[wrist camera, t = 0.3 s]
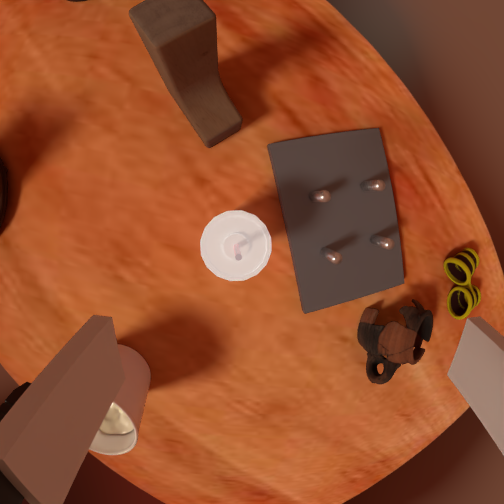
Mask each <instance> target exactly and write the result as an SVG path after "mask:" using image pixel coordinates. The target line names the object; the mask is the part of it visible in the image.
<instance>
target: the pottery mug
mask: <svg viewBox="0 0 504 504" xmlns="http://www.w3.org/2000/svg"><path fill="white" fill-rule="evenodd" d="M412 302H413V303H414V304H415V306H416V308H415V307H413V306H411V307H408V306H403V307H402V308H401V309H400V310H399V312H400V313H401V314H403V315H404V318H405V320H406V325H407V328H406V327H405V326H403V325H401V324H399V323H398V322H396V321H391V322H389V323H388V324H387V325H386V326H383V325H381V326H380V325H375V320H376V317H377V315H378V313H379V310H377V309H372V308H366V309H365V311H364V312H363V314H362V316H361V320H360V323H359V327H358V334H357V336H358V341H359V343H360V345H361V346H362V347H363V348H364V349H365V350H366V351H367V352H368V353H367V356H368V358H367V363H366V372H367V376H368V378H369V380H370V381H371V382H372V383H376V384H384V383H386V382H388V381H389V380H390V379H391V378H392V376H393V375H394V373H395V371H396V370H397V368H399V367H400V366H401V364H406V363H410V364H412V365H414V364H416V363H417V362H418V361H419V360H420V359H421V357H422V356H423V354H424V352H425V349H423V348H420V347H421V344H422V341H423V339H424V340H425V341H427V342H429V340H430V337H431V333H432V328H433V315H432V312H431V311H430V310H424V308H423V306H422V305H421V304H420V303H419V302H418V301H416V300H414V299H412ZM414 347H415V348H414ZM413 348H414V350H413ZM382 355H387V359H386V358H385V357H384V356H382ZM379 363H383V365H384V370H383V373H382V374H379V373H378V371H377V365H378V364H379Z"/></svg>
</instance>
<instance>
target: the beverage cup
mask: <svg viewBox="0 0 504 504" xmlns="http://www.w3.org/2000/svg"><path fill="white" fill-rule="evenodd" d="M200 246H201V256H202V258H203V260H204V262H205V264H206V266H207V268H208V269H210V270H211V271H212V272H213V273H214V274H215V275H216V276H218V277H220V278H223V279H226V280H229V281H242V280H246V279H248V278H251V277H253V276H255V275H257V274H258V273H259V272H260V271H261V270H262V269H263V268H264V267H265V266H266V264H267V262H268V259H269V257H270V254H271V236H270V234H269V232H268V230H267V228H266V225H265V224H264V223H263V222H262V221H261V220H259V219H258V218H257V217H256V216H255V215H253V214H250V213H247V212H245V211H242V210H238V211H226V212H224V213H222V214H220V215H218V216H216V217H214V218H213V219H212V220H211V221H210V223H209V224H208V225H207V226H206V227H205V229H204V232H203V234H202V237H201V240H200Z"/></svg>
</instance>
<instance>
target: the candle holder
mask: <svg viewBox="0 0 504 504" xmlns="http://www.w3.org/2000/svg"><path fill="white" fill-rule="evenodd" d="M117 345H118V349H119V354H120V358H121V362H122V367H123V371H124V375H125V378H126V379H125V381H124V383H123V384H122V386H121V388H120V390H119V392H118V394H117V396H116V397H115V399H114V401H113V403H112V405H111V407H110V409H109V411H108V413H107V414H106V416H105V418H104V420H103V422H102V424H101V426H100V428H99V430H98V432H97V434H96V436H95V438H94V440H93V442H92V444H91V446H90V448H89V449H90V450H92V451H95V452H98V453H101V454H106V455H120V454H124V453H127V452H129V451H130V450H132V449H133V448H134V446H135V445H136V443H137V440H138V433H139V428H140V424H141V419H142V415H143V411H144V407H145V403H146V399H147V394H148V390H149V386H150V381H151V372H150V368H149V366H148V364H147V362H146V361H145V359H144V358H143V357H142V356H141V355H140V354H139V353H138V352H137V351H135V350H134V349H132V348H130V347H128V346H125V345H121V344H117Z"/></svg>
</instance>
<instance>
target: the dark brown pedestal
mask: <svg viewBox="0 0 504 504" xmlns="http://www.w3.org/2000/svg"><path fill="white" fill-rule="evenodd" d="M7 171H8V169H7V168H6V167H5V166H4V165H3V162H2V160H1V158H0V226H1V224H2V221H3V218H4V214H5V210H6V203H7V179H6V172H7Z"/></svg>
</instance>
